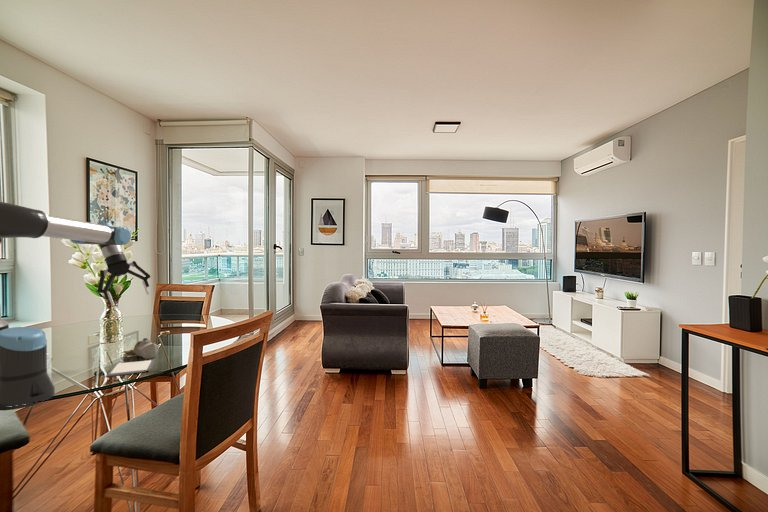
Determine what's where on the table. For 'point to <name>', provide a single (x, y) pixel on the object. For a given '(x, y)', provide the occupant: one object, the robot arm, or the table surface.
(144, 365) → the linen sheet mat
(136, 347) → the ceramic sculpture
